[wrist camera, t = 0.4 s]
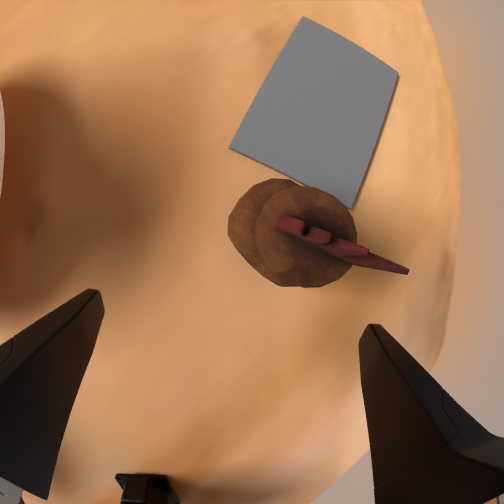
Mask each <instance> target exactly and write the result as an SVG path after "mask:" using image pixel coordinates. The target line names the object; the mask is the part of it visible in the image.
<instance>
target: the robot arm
mask: <svg viewBox="0 0 504 504" xmlns="http://www.w3.org/2000/svg"><path fill="white" fill-rule="evenodd" d="M104 311H105V310H104V305H103V301H102V297H101V293H100V291H98V290H95V289H87V290H85V291H84V292H82V293H80V294H79V295H77V296H75V297H74V298H72V299H71V300H69V301H67V302H66V303H64V304H63V305H61V306H59V307H58V308H56V309H55V310H53V311H52V312H50V313H48V314H47V315H45V316H44V317H42V318H41V319H39V320H38V321H36V322H35V323H33V324H32V325H30V326H29V327H27V328H26V329H24V330H23V331H21V332H20V333H18V334H17V335H15V336H14V337H13V338H11V339H9V340H8V341H6V342H5V343H3V344H2V345H0V504H25V503H24V501H23V499H22V497H21V496H22V492H23V490H25V491H27V492H29V493H32V494H34V495H36V496H38V497H40V498H42V499H45V500H47V499H48V496H49V491H50V486H51V482H52V477H53V473H54V469H55V465H56V461H57V457H58V454H59V449H60V446H61V442H62V439H63V435H64V432H65V429H66V426H67V422H68V419H69V416H70V413H71V410H72V407H73V404H74V401H75V398H76V395H77V393H78V390H79V387H80V384H81V382H82V379H83V376H84V374H85V371H86V368H87V366H88V363H89V361H90V358H91V356H92V353H93V350H94V347H95V343H96V340H97V336H98V333H99V330H100V326H101V323H102V320H103V317H104ZM359 359H360V374H361V386H362V393H363V399H364V405H365V412H366V419H367V426H368V434H369V442H370V450H371V459H372V470H373V481H374V495H375V504H504V438H502V437H498V436H495V435H493V434H491V433H490V432H488V431H487V430H486V429H485V428H484V427H483V426H482V425H481V424H479V423H478V422H477V421H476V420H475V419H474V418H473V417H472V416H471V415H470V414H468V413H467V412H466V411H465V410H464V409H463V408H462V407H461V406H460V405H459V404H458V403H457V402H456V401H455V400H454V399H453V398H452V397H451V396H450V395H449V394H448V393H447V392H446V391H445V390H444V389H443V388H442V387H441V386H440V385H439V384H438V383H437V381H436V380H435V379H434V378H433V377H432V376H431V375H430V374H429V373H428V372H427V371H426V370H425V369H424V368H423V367H422V366H421V365H420V364H419V363H418V362H417V361H416V360H415V359H414V358H413V357H412V356H411V355H410V354H409V353H408V352H407V351H406V350H405V349H404V348H403V347H402V346H401V345H400V344H399V343H398V342H397V341H396V340H395V339H394V338H393V337H392V336H391V335H390V334H389V333H388V332H387V331H386V330H385V329H384V328H383V327H382V326H381V325H380V324H368V325H367V327H366V329H365V330H364V332H363V334H362V336H361V338H360V340H359ZM115 479H116V480H117V482H118V483H119V485H120V486H121V488H122V489H123V493H122V497H121V503H120V504H181V502H180V500H179V498H178V497H177V495H176V493H175V491H174V490H173V488H172V486H171V484H170V482H169V480H168V479H167V477H166V476H162V475H124V474H116V475H115Z"/></svg>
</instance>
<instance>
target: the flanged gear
mask: <svg viewBox="0 0 504 504" xmlns="http://www.w3.org/2000/svg"><path fill="white" fill-rule="evenodd" d="M4 151H5V121H4V109H3V102H2V96H1V93H0V196H1V188H2V178H3V167H4Z"/></svg>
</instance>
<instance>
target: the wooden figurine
mask: <svg viewBox="0 0 504 504" xmlns="http://www.w3.org/2000/svg"><path fill="white" fill-rule="evenodd" d="M228 236H229V238H230V240H231V241H232V243H233V244H234V246H235V247H236V249H237V250H238V252H239V253H240V254H241V255H242V256H243V257H244V259H245V260H246V261H247V262H248V263H249V264H250V265H251V266H252V267H253V268H254V269H255V270H257V271H258V272H259V273H260V274H261V275H262V276H263V277H265V278H267V279H268V280H270V281H271V282H273V283H275V284H276V285H278V286H282V287H297V286H300V287H303V288H310V287H322V286H324V285H327V284H329V283H331V282H334V281H336V280H338V279H340V278H341V277H342V276H343V275H344V274H345V273H346V272H347V271H348V270H349V269H350V268H351V267H352V265H357V266H362V267H367V268H372V269H378V270H383V271H389V272H394V273H400V274H405V275H408V272H409V269H407V268H405V267H403V266H401V265H399V264H396V263H394V262H391V261H389V260H387V259H384V258H382V257H379V256H377V255H375V254H372V253H370V252H369V249H367V248H365V247H362V246H360V245H357V232H356V228H355V225H354V221H353V218H352V216H351V215H350V213H349V211H348V209H347V208H346V206H345V205H344V204H343V203H342V202H341V201H339V200H338V199H337V198H336V197H335V196H333V195H331V194H329V193H327V192H325V191H322V190H320V189H318V188H315V187H305V186H300V185H298V184H296V183H295V182H293V181H292V180H288V179H274V178H271V179H269V180H266V181H264V182H261V183H258V184H256V185H254V186H253V187H252V188H250V189H249V190H248V191H247V192H246V193H245V194H244V195H243V196H242V197H241V198H240V199H239V201H238V202H237V204H236V206H235V207H234V209H233V210H232V212H231V214H230V215H229V220H228Z"/></svg>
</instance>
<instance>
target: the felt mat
mask: <svg viewBox="0 0 504 504" xmlns="http://www.w3.org/2000/svg"><path fill="white" fill-rule="evenodd" d="M397 76H398V72H397V71H396V70H394V69H393V68H391V67H390V66H389V65H387V64H386V63H384V62H383V61H381V60H380V59H378V58H377V57H375V56H374V55H372V54H371V53H369V52H368V51H366V50H364V49H363V48H361V47H360V46H358V45H356V44H355V43H353V42H351V41H350V40H348V39H346V38H344V37H343V36H341V35H339V34H337V33H335V32H334V31H332V30H330V29H328V28H326V27H324V26H322V25H320V24H318V23H316V22H314V21H312V20H310V19H308V18H306V17H304V16H303V17H302V19H301V20H300V22H299V23H298V25H297V26H296V28H295V30H294V31H293V33H292V35H291V36H290V38H289V39H288V41H287V43H286V44H285V46H284V48H283V49H282V51H281V53H280V55H279V56H278V58H277V60H276V61H275V63H274V65H273V67H272V68H271V70H270V72H269V73H268V75H267V77H266V79H265V81H264V82H263V84H262V86H261V88H260V90H259V91H258V93H257V95H256V97H255V99H254V100H253V102H252V104H251V106H250V108H249V110H248V112H247V114H246V115H245V117H244V119H243V121H242V123H241V125H240V127H239V129H238V131H237V133H236V135H235V137H234V139H233V140H232V142H231V144H230V146H229V149H230V150H233V151H235V152H237V153H239V154H241V155H244V156H246V157H248V158H250V159H252V160H254V161H256V162H259V163H261V164H263V165H265V166H267V167H269V168H271V169H273V170H275V171H277V172H279V173H281V174H283V175H285V176H287V177H289V178H291V179H293V180H295V181H297V182H299V183H301V184H303V185H305V186H307V187H315V188H318V189H320V190H322V191H325V192H327V193H329V194H331V195H333V196H335V197H336V198H337V199H338V200H339V201H341V202H342V203H343V204H344V205H345V206H346V208H347V209H351V208H352V205H353V203H354V200H355V198H356V195H357V193H358V190H359V187H360V185H361V182H362V180H363V177H364V174H365V172H366V169H367V166H368V164H369V161H370V158H371V155H372V153H373V150H374V147H375V144H376V141H377V139H378V136H379V133H380V130H381V127H382V124H383V121H384V118H385V115H386V112H387V109H388V105H389V102H390V99H391V96H392V93H393V89H394V86H395V83H396V79H397Z"/></svg>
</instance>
